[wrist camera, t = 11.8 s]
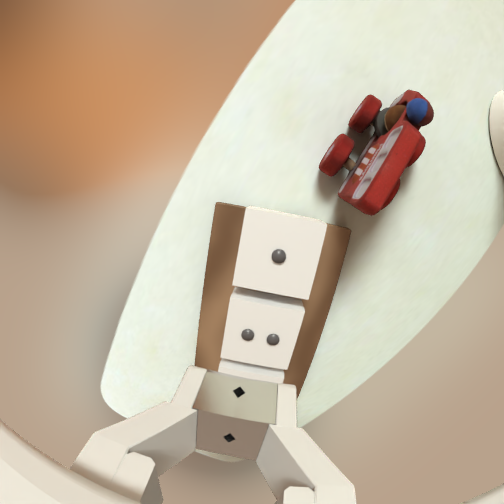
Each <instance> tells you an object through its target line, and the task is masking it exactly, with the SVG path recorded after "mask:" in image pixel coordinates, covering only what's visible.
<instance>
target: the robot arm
mask: <svg viewBox="0 0 504 504" xmlns="http://www.w3.org/2000/svg"><path fill="white" fill-rule="evenodd" d="M489 123H490V134H491V140H492V145H493V149H494V153H495V156H496V159H497V162H498V165H499V167H500V169H501V172H502V174H503V176H504V90H501V91H499V92H498V93H497V94H496V95H495V96H494V98H493V100H492V103H491V107H490V115H489ZM195 448H196V449H200V450H205V451H209V452H214V453H220V454H225V455H230V456H234V457H239V458H245V459H251V460H256V463H257V465H258V467H259V469H260V471H261V473H262V474H263V476H264V478H265V480H266V482H267V483H268V485H269V487H270V489H271V490H272V492H273V494H274V496H275V497H276V499H277V501H276V503H275V504H356V497H355V489H354V485H353V484H352V483H351V482H350V481H349V480H348V479H347V478H346V477H345V476H344V475H343V473H342V472H341V471H340V470H339V469H338V468H337V467H336V466H335V465H334V464H333V463H332V462H331V460H330V459H329V458H328V457H327V456H326V455H325V454H324V452H323V451H322V450H321V449H320V448H319V447H318V446H317V444H316V443H315V442H314V441H313V440H312V439H311V438H310V436H309V435H308V434H307V433H306V432H305V430H303V428H297V394H296V386H295V385H290V384H282V383H273V382H267V381H260V380H255V379H249V378H243V377H238V376H234V375H230V374H225V373H221V372H217V371H213V370H209V369H208V370H207V369H204V368H200V367H197V366H193V365H190V366H189V367H188V368H187V370H186V372H185V374H184V376H183V378H182V380H181V382H180V385H179V387H178V389H177V391H176V393H175V395H174V397H173V399H172V401H171V403H170V402H167V401H165V402H163V403H161V404H159V405H156V406H154V407H152V408H150V409H148V410H146V411H144V412H141V413H139V414H137V415H135V416H133V417H130V418H128V419H126V420H123V421H121V422H119V423H116V424H114V425H112V426H110V427H107V428H104V429H102V430H99V431H97V432H94V434H93V435H92V436H91V438H90V439H89V441H88V442H87V444H86V445H85V447H84V448H83V450H82V451H81V453H80V454H79V456H78V457H77V459H76V460H75V462H74V463H73V465H72V466H71V468H70V469H69V468H67V467H65V466H63V465H62V464H60V463H59V462H57V461H55V460H54V459H52V458H51V457H49V456H48V455H46V454H45V453H43V452H42V451H40V450H39V449H37V448H36V447H35V446H33V445H32V444H31V443H29V442H28V441H27V440H25V439H24V438H23V437H21V436H20V435H19V434H17V433H16V432H15V431H14V430H12V429H11V428H10V427H9V426H8V425H6V424H5V423H4V422H3V421H2V420H1V419H0V504H162V503H163V496H162V492H161V488H160V484H159V479H158V477H159V476H160V475H162V474H163V473H164V472H166V471H167V470H169V469H170V468H172V467H173V466H174V465H176V464H177V463H179V462H180V461H181V460H183V459H184V458H185V457H187V456H188V455H190V454H191V453H192V452H194V451H195ZM460 504H504V484H502V485H500V486H498V487H496V488H494V489H492V490H490V491H488V492H486V493H484V494H482V495H479V496H477V497H475V498H472V499H470V500H468V501H465V502H463V503H460Z"/></svg>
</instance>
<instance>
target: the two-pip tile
mask: <svg viewBox="0 0 504 504" xmlns="http://www.w3.org/2000/svg"><path fill="white" fill-rule="evenodd" d="M304 314H305V309H304V307H303V303H302V300H301V299H296V298H290V297H285V296H280V295H274V294H269V293H264V292H259V291H254V290H249V289H244V288H239V287H235V288H234V290H233V293H232V294H231V297H230V302H229V307H228V313H227V319H226V326H225V332H224V338H223V344H222V350H221V356H220V358H225V359H230V360H234V361H239V362H244V363H250V364H255V365H260V366H266V367H272V368H278V369H285V370H287V369H288V366H289V363H290V360H291V356H292V353H293V350H294V347H295V344H296V340H297V337H298V334H299V331H300V327H301V324H302V320H303V317H304Z"/></svg>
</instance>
